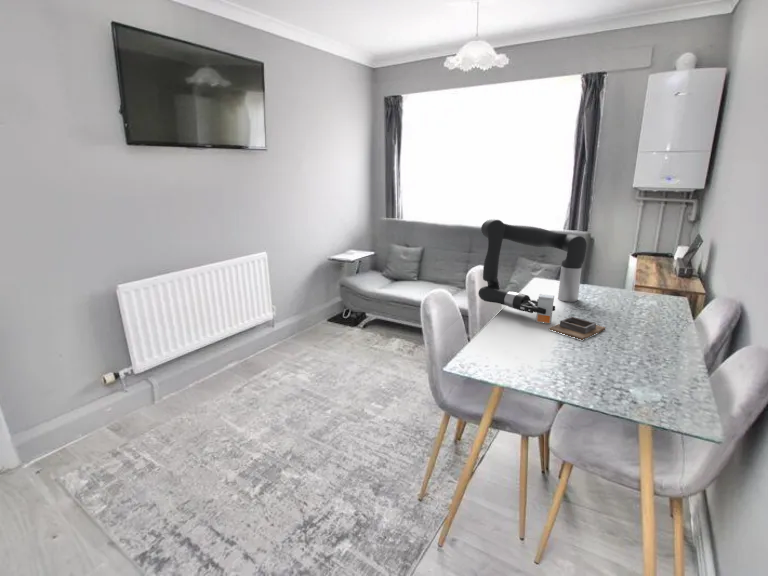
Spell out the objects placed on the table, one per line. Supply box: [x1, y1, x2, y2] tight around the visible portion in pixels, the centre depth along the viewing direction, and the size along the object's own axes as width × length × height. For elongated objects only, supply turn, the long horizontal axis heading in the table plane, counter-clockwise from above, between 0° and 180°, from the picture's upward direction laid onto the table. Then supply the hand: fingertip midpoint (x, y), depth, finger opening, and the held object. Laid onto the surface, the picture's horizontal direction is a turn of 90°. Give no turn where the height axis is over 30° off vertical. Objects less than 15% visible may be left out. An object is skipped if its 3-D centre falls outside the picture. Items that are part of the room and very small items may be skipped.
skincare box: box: [535, 293, 555, 324], centre depth 171 cm, size 6×4×12 cm
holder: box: [548, 316, 606, 341], centre depth 163 cm, size 18×14×4 cm
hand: (550, 310), depth 169 cm, fingers closed on skincare box, 6 cm apart
